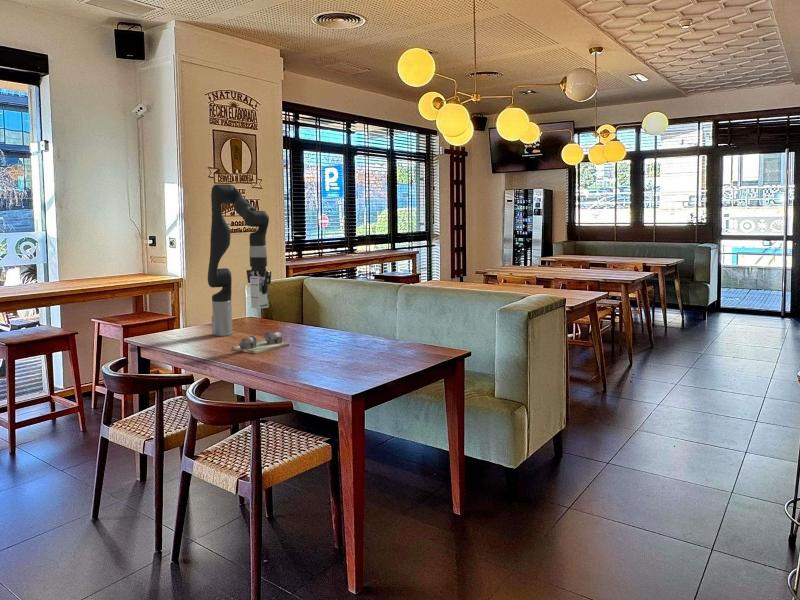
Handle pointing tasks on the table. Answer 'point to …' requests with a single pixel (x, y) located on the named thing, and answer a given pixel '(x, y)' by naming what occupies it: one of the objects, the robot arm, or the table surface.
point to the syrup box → (258, 293)
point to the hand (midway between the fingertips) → (259, 293)
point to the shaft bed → (261, 344)
